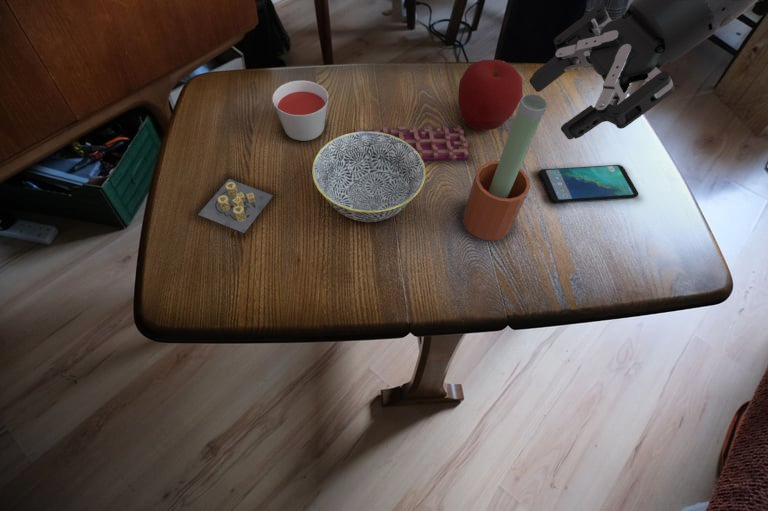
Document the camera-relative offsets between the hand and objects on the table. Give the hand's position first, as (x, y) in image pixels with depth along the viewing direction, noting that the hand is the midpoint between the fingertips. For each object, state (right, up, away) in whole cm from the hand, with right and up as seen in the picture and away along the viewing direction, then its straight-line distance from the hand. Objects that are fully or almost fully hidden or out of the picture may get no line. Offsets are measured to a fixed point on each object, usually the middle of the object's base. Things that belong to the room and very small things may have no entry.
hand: (548, 109), depth 51 cm
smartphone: (+14, -5, +22) cm, 27 cm away
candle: (-33, +5, +26) cm, 42 cm away
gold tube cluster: (-41, -9, +16) cm, 45 cm away
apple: (-2, +7, +29) cm, 30 cm away
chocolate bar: (-14, +2, +25) cm, 29 cm away
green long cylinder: (-3, -11, +16) cm, 20 cm away
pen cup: (-3, -12, +16) cm, 20 cm away
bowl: (-22, -9, +17) cm, 29 cm away
